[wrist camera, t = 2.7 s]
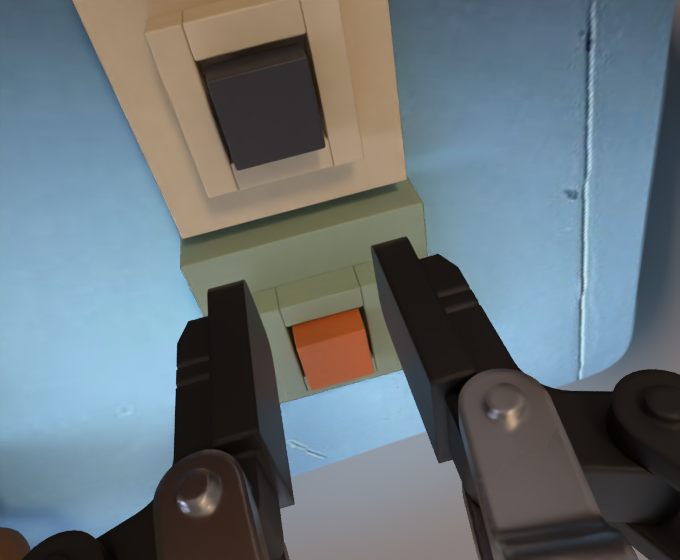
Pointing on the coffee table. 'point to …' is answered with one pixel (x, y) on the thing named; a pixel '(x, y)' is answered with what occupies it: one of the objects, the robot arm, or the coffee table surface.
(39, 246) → the coffee table surface
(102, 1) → the beige push button
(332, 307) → the green stepped square block
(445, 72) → the coffee table surface
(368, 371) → the key
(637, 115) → the coffee table surface
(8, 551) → the mug
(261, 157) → the key
